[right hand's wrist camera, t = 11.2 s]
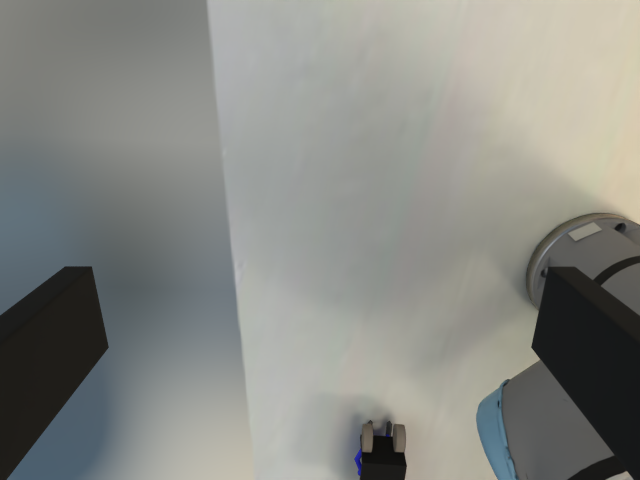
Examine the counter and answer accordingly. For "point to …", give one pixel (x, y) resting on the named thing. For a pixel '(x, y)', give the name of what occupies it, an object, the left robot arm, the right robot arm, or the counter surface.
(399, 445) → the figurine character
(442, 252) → the counter surface
